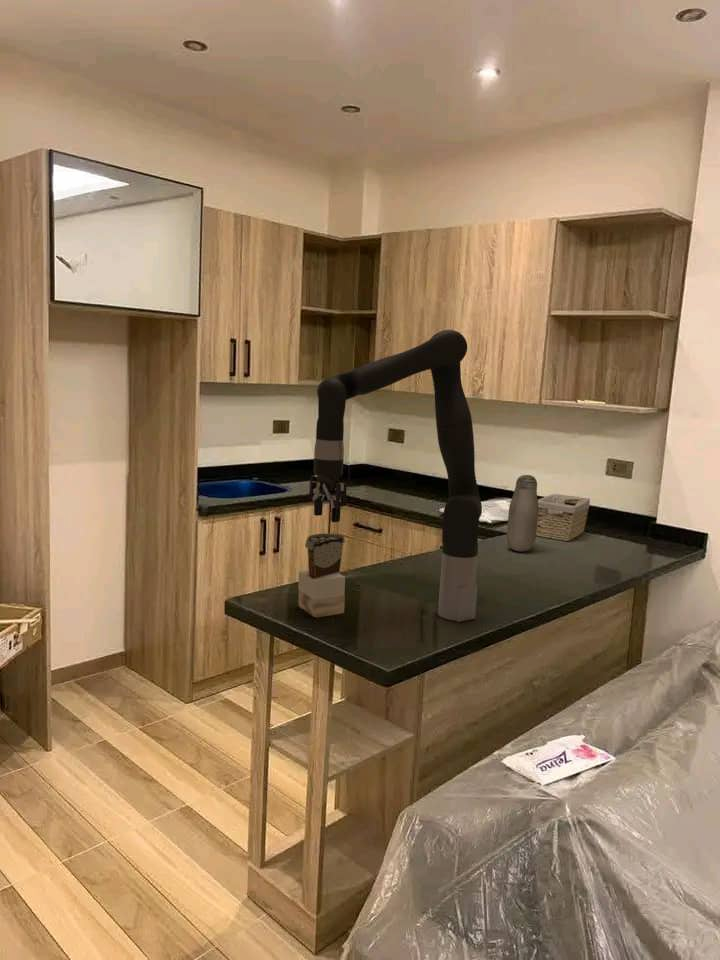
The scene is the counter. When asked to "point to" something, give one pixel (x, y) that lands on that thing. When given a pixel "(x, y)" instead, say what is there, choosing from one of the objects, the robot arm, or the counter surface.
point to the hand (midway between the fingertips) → (326, 518)
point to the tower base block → (321, 605)
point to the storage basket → (562, 516)
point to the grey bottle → (523, 514)
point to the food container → (324, 554)
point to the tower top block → (321, 585)
